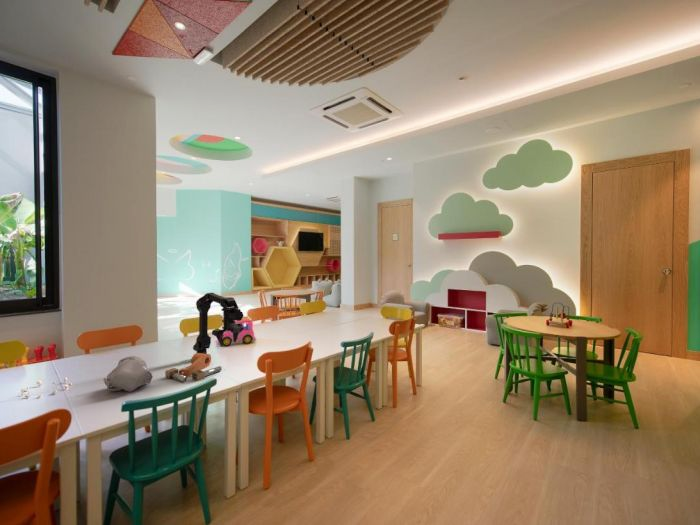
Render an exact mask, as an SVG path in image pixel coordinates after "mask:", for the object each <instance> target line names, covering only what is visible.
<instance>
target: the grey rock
mask: <svg viewBox="0 0 700 525" xmlns="http://www.w3.org/2000/svg"><path fill="white" fill-rule="evenodd" d="M152 379H153V374H152V372H150V370H149V369H148V367H147V363H146V361H145V360H144V359H143V358H142V357H140V356H136V355H134V356H133V355H131V356H126V357H124V358H121V359H119V361H118V363H117V366H116V367H115V368H114V369H113V370H112V371H110V372H109V373H108V374H107V375H106V377H104V378H103V382H104V384H105V385H106V387H107V388H106V390H107V391H110V392H119V391H122V390H124V391H126V392H133V391H134V390H136V389H138V388H139V387H142V386H143V385H147V384H149V385H151V382H152Z"/></svg>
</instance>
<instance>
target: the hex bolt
mask: <svg viewBox="0 0 700 525" xmlns="http://www.w3.org/2000/svg"><path fill="white" fill-rule="evenodd" d="M164 371H165V372H164V374H165V376H164V378H165V379H168V380H171V379H174V380H177V381H179V382H182V383H184V382H186V381H187V380H188V378H187V377H186V376H183V375H181V374H179V369H178V368H175V367H173V368H169V369H166V370H164Z"/></svg>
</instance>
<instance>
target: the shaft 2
mask: <svg viewBox="0 0 700 525" xmlns="http://www.w3.org/2000/svg"><path fill="white" fill-rule="evenodd" d="M221 371H222V366H221V365H219V366H218V365H217V366H216V367H212V368H210V369H207V370H197V371H194V372H192V375H191V380H194V381H196V382H199V381H201V380H204V379H205V377H208V376H211V375H215V374H216V373H219V372H221Z"/></svg>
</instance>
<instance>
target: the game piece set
mask: <svg viewBox="0 0 700 525" xmlns="http://www.w3.org/2000/svg"><path fill="white" fill-rule="evenodd" d="M57 382H58V380H56V381H55V382H54V381H53V382H52V383H51V384H52V385H54V384H57ZM63 382H64V383H65V385H63V387H64V391H68V390H69V389H70V388H69V387H70V386H72V385H73V383H72V382H69V383H68V377H64V378H63ZM66 383H68V384H66ZM36 384H37V386H38V388H40V387H42V386H43V384H42V381H41V380H38V381H37V382H36ZM29 387H30V386H29V385H28V386H27V387H26V388H25V389H23V388H22V389H20V391H21V394H19V395H18V397H24V398H25V399H29V398H30V390H29ZM25 392H28V393H27V394H26V393H25ZM57 393H58V391H57V389H55V390H54V391H52V393H51V394H52V395H56V394H57ZM42 398H43V395H42V393H40V394H39V393H38V394H37V399H42Z"/></svg>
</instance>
